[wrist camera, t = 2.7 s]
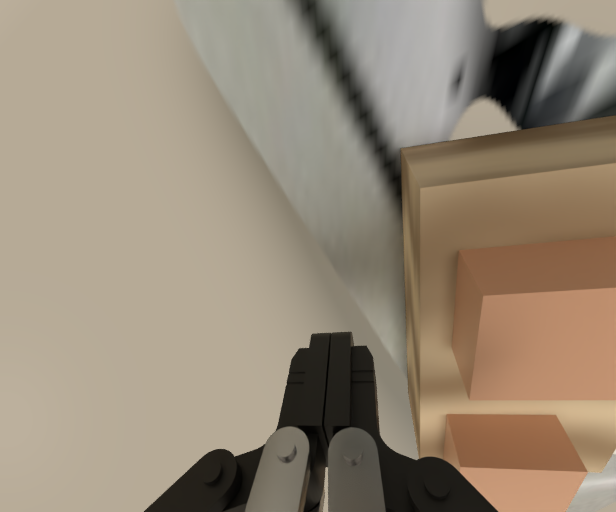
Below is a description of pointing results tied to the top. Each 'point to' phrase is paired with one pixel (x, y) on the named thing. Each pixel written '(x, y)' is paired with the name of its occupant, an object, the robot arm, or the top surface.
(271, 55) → the top surface
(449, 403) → the platform
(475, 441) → the tile outer
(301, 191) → the top surface
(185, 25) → the top surface
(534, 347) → the tile inner
